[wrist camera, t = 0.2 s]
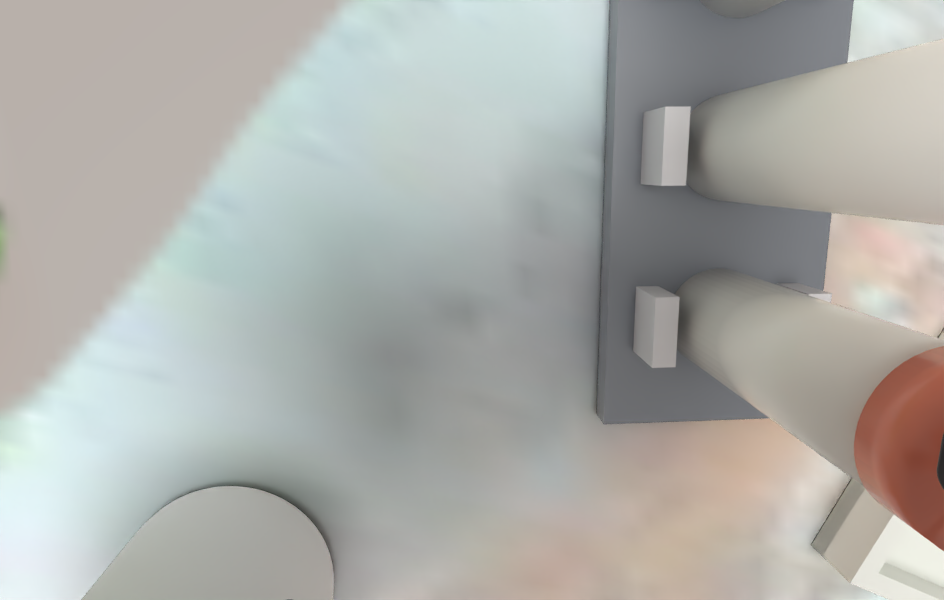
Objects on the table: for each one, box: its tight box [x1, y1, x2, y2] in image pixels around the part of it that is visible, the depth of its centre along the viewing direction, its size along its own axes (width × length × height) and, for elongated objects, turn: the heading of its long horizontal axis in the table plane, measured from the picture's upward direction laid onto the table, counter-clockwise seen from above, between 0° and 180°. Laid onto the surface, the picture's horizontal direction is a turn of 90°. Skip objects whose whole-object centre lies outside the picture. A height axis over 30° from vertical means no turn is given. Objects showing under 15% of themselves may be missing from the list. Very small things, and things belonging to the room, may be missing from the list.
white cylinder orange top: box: [675, 268, 944, 551], centre depth 17 cm, size 4×4×12 cm
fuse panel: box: [597, 0, 944, 424], centre depth 17 cm, size 19×8×13 cm, turn 1°
